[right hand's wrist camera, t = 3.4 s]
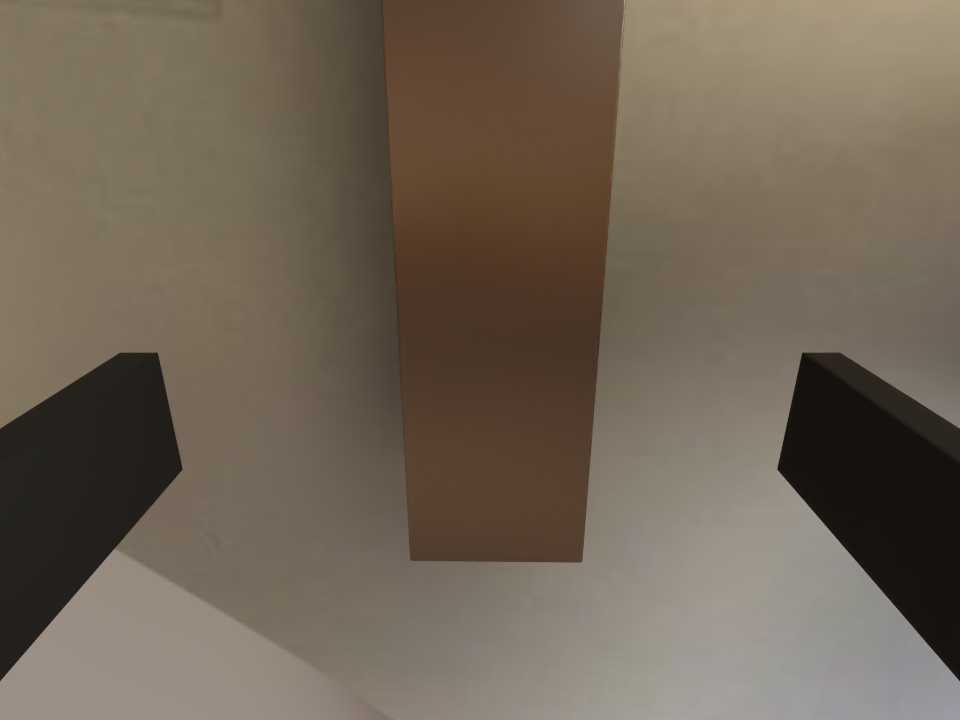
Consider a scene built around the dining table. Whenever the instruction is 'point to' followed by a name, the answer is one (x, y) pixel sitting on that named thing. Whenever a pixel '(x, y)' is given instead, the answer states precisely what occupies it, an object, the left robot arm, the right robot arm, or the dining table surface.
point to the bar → (500, 264)
